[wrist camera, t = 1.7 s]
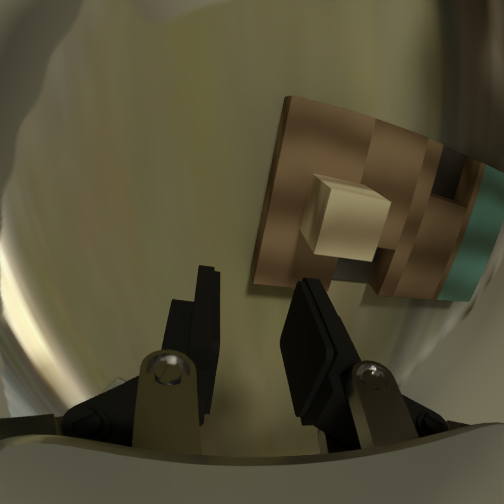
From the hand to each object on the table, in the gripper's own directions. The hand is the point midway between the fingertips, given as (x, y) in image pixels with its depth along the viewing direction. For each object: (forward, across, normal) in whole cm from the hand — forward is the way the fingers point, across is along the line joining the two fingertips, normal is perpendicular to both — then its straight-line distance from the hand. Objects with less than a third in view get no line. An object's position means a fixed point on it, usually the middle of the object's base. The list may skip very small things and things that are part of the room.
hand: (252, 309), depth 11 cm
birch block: (+16, -8, 0) cm, 18 cm away
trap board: (+19, -18, 0) cm, 26 cm away
